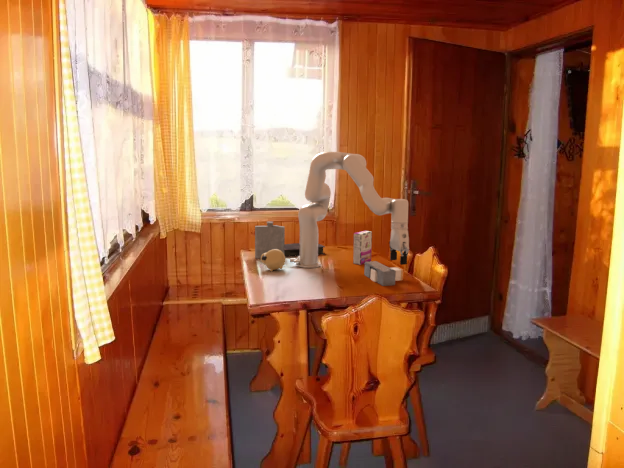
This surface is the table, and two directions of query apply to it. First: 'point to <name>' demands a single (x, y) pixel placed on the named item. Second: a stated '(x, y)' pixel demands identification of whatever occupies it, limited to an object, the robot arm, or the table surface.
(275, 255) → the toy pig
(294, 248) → the diary
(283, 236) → the hip flask
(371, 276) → the white rectangular block
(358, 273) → the table surface
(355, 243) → the candy bar box
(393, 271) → the block
